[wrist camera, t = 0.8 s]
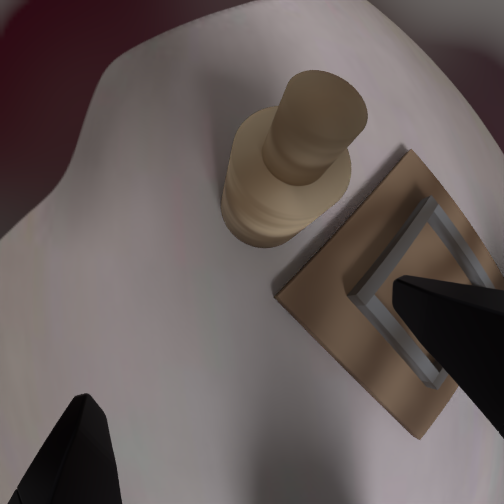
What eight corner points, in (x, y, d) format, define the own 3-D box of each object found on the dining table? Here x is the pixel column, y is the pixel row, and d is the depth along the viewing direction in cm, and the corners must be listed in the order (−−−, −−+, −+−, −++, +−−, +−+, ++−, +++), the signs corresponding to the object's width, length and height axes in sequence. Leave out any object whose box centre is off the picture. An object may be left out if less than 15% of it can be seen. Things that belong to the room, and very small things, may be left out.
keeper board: (502, 288, 25) (519, 286, 23) (413, 436, 21) (430, 444, 19) (405, 153, 25) (420, 141, 23) (273, 297, 21) (283, 295, 19)
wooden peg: (319, 210, 23) (420, 124, 11) (263, 265, 22) (340, 212, 9) (262, 153, 23) (315, 31, 11) (203, 203, 22) (209, 87, 10)
